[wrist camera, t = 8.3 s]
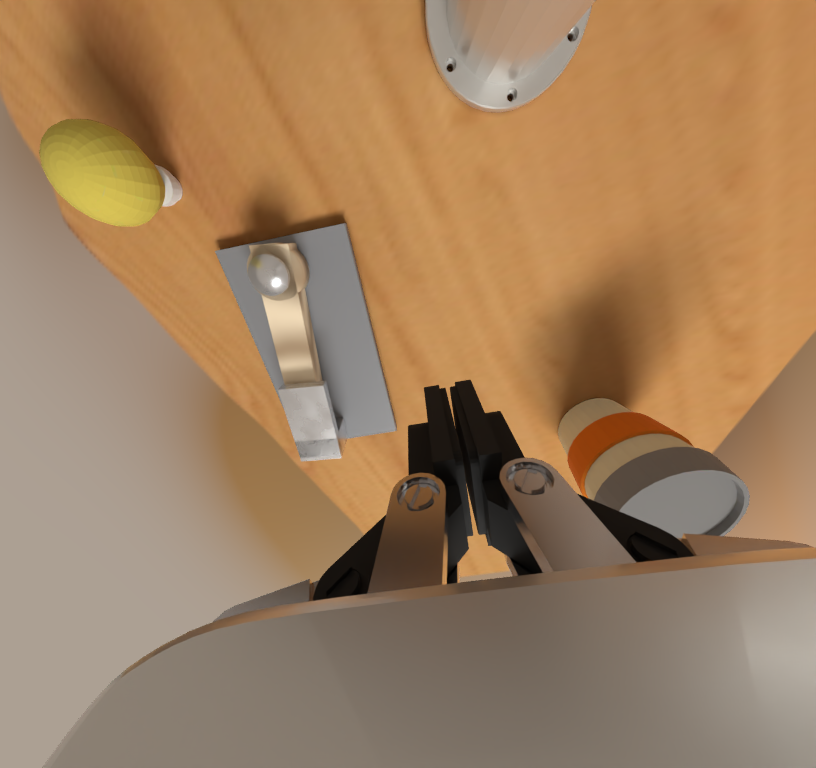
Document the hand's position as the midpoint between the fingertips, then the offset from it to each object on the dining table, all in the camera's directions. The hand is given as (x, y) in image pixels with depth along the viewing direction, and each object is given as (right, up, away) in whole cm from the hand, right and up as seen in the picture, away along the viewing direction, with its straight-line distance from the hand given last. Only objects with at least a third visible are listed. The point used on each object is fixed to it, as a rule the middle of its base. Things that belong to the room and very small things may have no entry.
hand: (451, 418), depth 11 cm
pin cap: (-14, +12, +18) cm, 26 cm away
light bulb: (-24, +20, +18) cm, 36 cm away
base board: (-12, +5, +25) cm, 29 cm away
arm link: (-14, +7, +23) cm, 28 cm away
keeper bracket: (-13, -2, +28) cm, 31 cm away
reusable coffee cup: (+24, -4, +31) cm, 39 cm away
